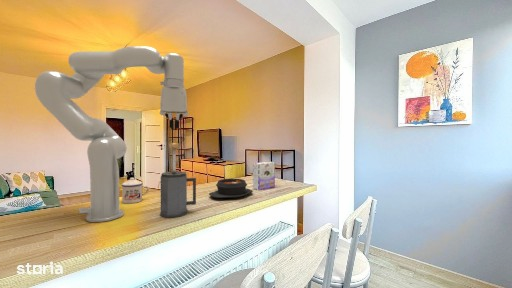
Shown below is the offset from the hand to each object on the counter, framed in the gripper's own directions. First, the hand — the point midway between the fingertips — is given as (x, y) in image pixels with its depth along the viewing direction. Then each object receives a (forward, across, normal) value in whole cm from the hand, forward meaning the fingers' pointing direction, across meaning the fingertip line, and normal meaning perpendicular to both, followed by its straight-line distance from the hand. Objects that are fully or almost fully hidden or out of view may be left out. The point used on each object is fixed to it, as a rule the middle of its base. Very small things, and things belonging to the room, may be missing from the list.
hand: (174, 129), depth 94 cm
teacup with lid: (+35, -20, +24) cm, 47 cm away
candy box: (+35, +51, +37) cm, 72 cm away
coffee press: (+35, +2, 0) cm, 35 cm away
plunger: (+26, 0, 0) cm, 26 cm away
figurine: (+35, -5, +19) cm, 40 cm away
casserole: (+35, +28, +23) cm, 51 cm away
